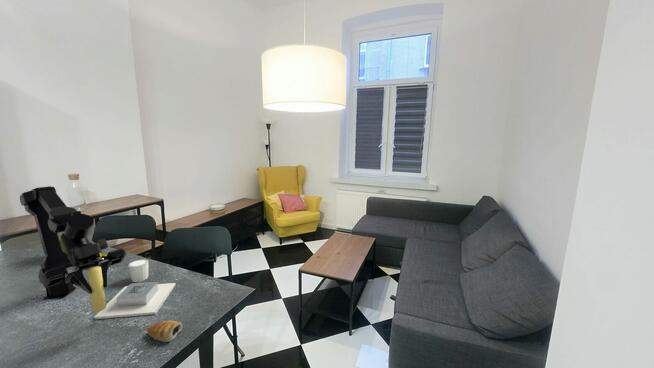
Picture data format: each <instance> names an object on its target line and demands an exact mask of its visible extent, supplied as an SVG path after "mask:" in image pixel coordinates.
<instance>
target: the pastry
mask: <svg viewBox="0 0 654 368" xmlns="http://www.w3.org/2000/svg"><path fill="white" fill-rule="evenodd" d="M183 328H184V327H183V324H182V323H181V321H180V322H179V321H176V320H172V319H169V320H165V321H164V320H163V321H159V322H155V323H154V324H152V325H151V326H149V327H148V328H147V334H148V335H149V336H150V337H152V338H153V339H154V341H155V340H156V341H160V342H162V343H163V342H164V343H169V342H171V341H173V340H175V338H176V337H177V336H178V334H180V333H181V331H182V330H183Z"/></svg>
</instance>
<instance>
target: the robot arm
mask: <svg viewBox="0 0 654 368" xmlns="http://www.w3.org/2000/svg"><path fill="white" fill-rule="evenodd" d="M19 202H20V205H21V206H23V207H24V209H25V212H27V213H28V214H30V215H31V216H33V217H34V218H33V219H34V222H35V225H36V228H37V232H38V236H39V238H40V242H41V245H42V246H41V247H42V249H43V253H44V257H43V259H42V261H41V262H40V267H41V268H40V269H39V272H38V281H39V283H41V284H42V285H43V288H45V292H46V295H45V296H43V298H42V299H43V300H51V299H52V300H55V299H64V298H66V296H68V295H70V294H71V293H72V292H74V291H75V290H76V289H77V287H79V288H80V289H82V290H83V291H84V292H87V293H88V295H90V294H92V290H91V287H90V285H89V283H88V280H87V279H86V277H85V276H84V273H83V271H85V270H86V271H87V270H88V269H89V268H92V267H96V266H99V267H101V270H102V278H103V286H104V289H106V288H107V287H108V270H109V268H110V267H111V266H112V267H113V266H114V265H117V264H120V263H122V262H123V260H124V259H125V257H126V255H127V252H126V250H125V249H123V248H118V249H114V250H110V251H108V252H107V254H106V255H107V256H106V257H103V258H100V259H98V258H97V257H99V256H100V253H102V254H103V250H106V249H108V248H109V245H108V242H107V241H106V239H105V238H104V237H103V238H100V239H97V240H95V243H92V242H90V239H89V238H88V237H89V235H90V233H91V231H92V227H93V225H94V223H95V221H94V218H93V217H92V216H91V215H88V214H86V213H82V212H81V210H77V209H76V208H74V207H69V206H67V205H66V203H65V202H64V200H63V199H62V198H61V197H60V196H59V195H58V193H57V190H56V188H55V186H49V185H48V186H41V187H35V188H32V189H30V190H28V191H24V192H22V193H21V194H20V195H19ZM58 233H59V234H60V233H61V234H62V233H63V234H62V235H61V237H60V239H61V241H62V244H63V246H64V248H65V250H66V252H67V254H66V253H65V252H63V251H62V248H61V245H60V241H59V237H58ZM74 285H75V286H74ZM76 286H77V287H76Z"/></svg>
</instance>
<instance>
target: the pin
mask: <svg viewBox="0 0 654 368" xmlns="http://www.w3.org/2000/svg"><path fill="white" fill-rule="evenodd" d="M86 274H87V282H88V284H89V285H90V287H91V290H92V294H89V297H90V302H91V310H92V312H93V313H99V312H100V311H102V310H104V309H105V308H106V305H107V303H106V295H105V288H104V286H103V278H102V270H101V267H99V266H97V267H96V266H95V267H92V268H89V269H86Z"/></svg>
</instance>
